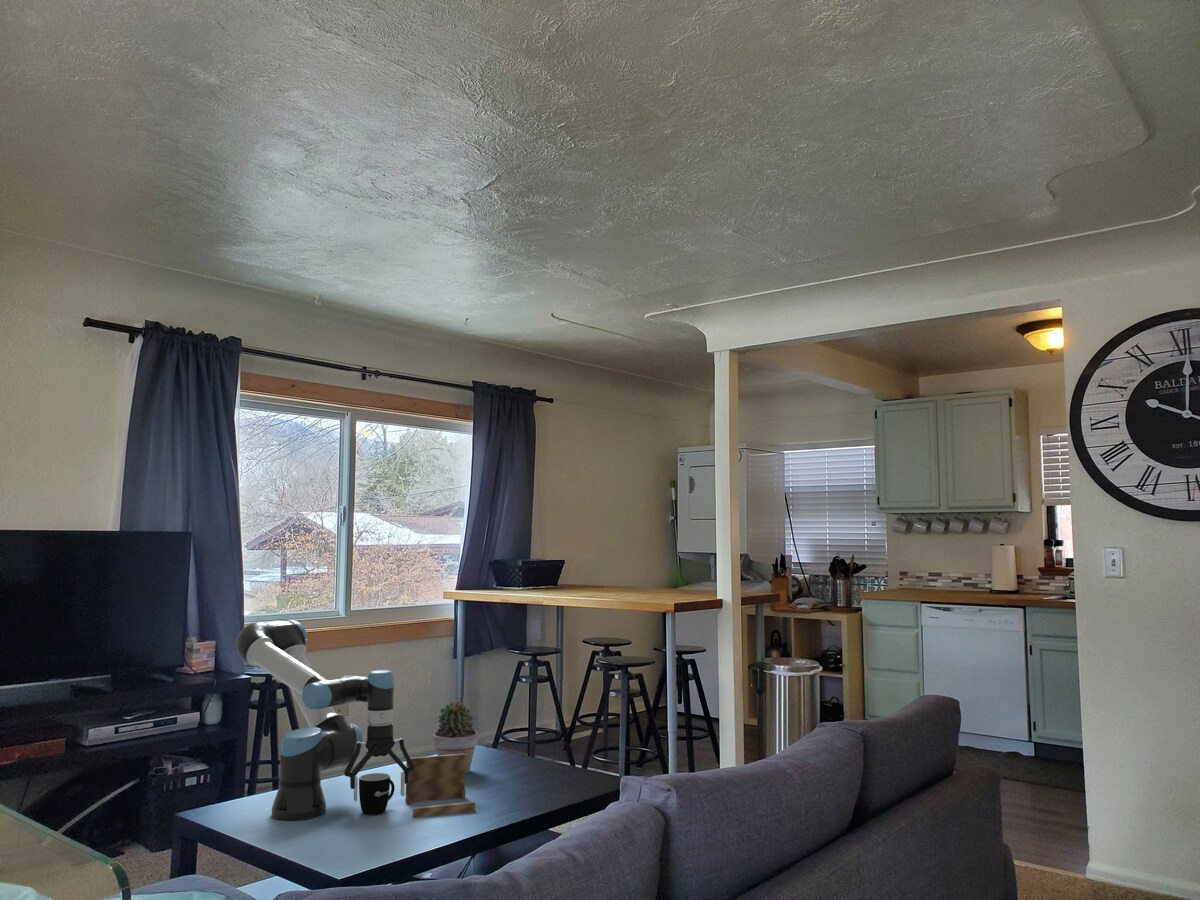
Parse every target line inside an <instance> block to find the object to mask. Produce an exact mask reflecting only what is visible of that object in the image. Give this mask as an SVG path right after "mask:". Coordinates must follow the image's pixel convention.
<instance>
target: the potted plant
mask: <svg viewBox="0 0 1200 900" xmlns="http://www.w3.org/2000/svg"><path fill="white" fill-rule="evenodd" d="M440 712H441V713H440V715H438V717H437V718H434V720H435V719H437V720H438V721H437V722H436V721H435V722H434V724H436V723H439V724H438V725H437V728H438V729H436V731H435V732H433V734H432V740H433V747H434V748H435V751H436V756H438V755H450V754H463V753H464V754H465V775H467V774H469V773H470V771H471V766H472V762H473V758H474V754H475V753H474V752H475V748H476V747H477V745H478V737H479V732H478V731H477V730H474V726H475V725H476V724H474V722H472V721H473V720H476V718H477V719H478V717H476V716H475V717H474V716H473V715H472V713H471V709H470V708H469V709H468V707H466V705H464V704H463V702H462V701H457V702H452V701H451V702H449V704H448V703H447V704H446V705H445V707H443V708H441V709H440ZM473 725H474V726H473Z"/></svg>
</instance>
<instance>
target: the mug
mask: <svg viewBox="0 0 1200 900" xmlns="http://www.w3.org/2000/svg"><path fill="white" fill-rule="evenodd" d="M390 788H391V790H390ZM358 792H359V793H358V795H359V804H360V805H359V806H360V810H361V813H362V814H363V815H364V816H378V815H382V814H383V813H385V812H386V810H387V807H388V802H389V801H390V800H391V799H392V797H393V795H394V793H395V783H394V781H393V780H392V779H391V775H390V774H388V773H382V772H374V773H373V772H372V773H367V774H363V775H360V776H359V778H358Z"/></svg>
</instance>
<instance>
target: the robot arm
mask: <svg viewBox="0 0 1200 900" xmlns="http://www.w3.org/2000/svg"><path fill="white" fill-rule="evenodd" d="M307 638H308V633H307V631H306V628H305V627H304V625H303V624H301V623H300V622H298V621H297V620H294V619H293V620H292V619H280V620H274V621H273V620H270V621H257V622H256V621H255V622H253V623H250V624H248V625H245V627H243V628H242V630H241V631H240V632H239V633H238V636H237V637H236V642H235V643H236V644H235V648H236V651H237V654H238V656H239V657H240V658H241V660H243V661H244V662H246V663H247V664H248V665H250V666H252V667H259V668H261V669H262V670H264V671H265V672H266V673H269V675H270V676H272V677H274V678H275V679H277V680H279V681H280V682H282V683H283V684H284V685H286V686H287V687H288V688H289V690H290V691H291V694H292V695H293V698H294V699H295V701H296V704H297V705H298V707H299V709H300V711H301V713H302V715H303V716H304V718H305V720H306V722H307V724H308V726H307V727H304V728H303V727H301V728H296V729H293V730H290V731H289V732H287V733H285V734H284V735H283V736H282V738H281V741H280V748H279V754H280V755H279V778H278V779H279V780H278V782H279V783H278V790H277V792H276V795H275V798H274V800H273V803H272V807H271V817H272V818H274V819H276V820H280V819H281V820H282V821H297V820H298V821H299V820H306V819H312V818H316V817H319V816H321V815H323V814H324V813H326V811H327V801H326V798H325V794H324V790H323V788H322V783H321V782H322V781H321V777H322V771H326V770H330V769H334V768H337V767H344V766H346V767H345V769H344V771H343V775H344V776H345V777H347V778H350V781H349V783H350V785H349V787H350V789H351V790H353V800H354V802H358V786H359V778H358V776H357V775H358V774H359V773H360V771H361V770H362V769H363V767H364V766H365V765H366V764H367V762H368V761H369V760H370V759H371V758H372V757H375V758H377V757H380V756H381V757H386V756H387V755H389V756H390V757H391V759H393V761H394V762H395V763H396V764H397V765H398V766H399V767H400V769H401V770H402V771H400V795H401V797H405V790H406V784H407V783H408V773H409V771H411V770H414V768H415V767H414V765H413V763H412V761H411V759H410V758H411V757H410V755H409V753H408V751H407V749H406V747H405V740H404V739H403V738H402V737H399V738H397V739H394V724H393V722H394V691H395V689H394V688H395V684H394V683H395V682H394V680H395V679H394V673H393V671H391V670H387V669H386V670H385V669H381V670H372V671H370V672H368V674H367V675H368V676H364V675H363V676H361V675H355V674H353V675H344V676H342V677H341V678H335V679H331V680H330V679H327V678H326V677H324V676H322V675H320V674H319V673H317V672H316V671H315V670H313V668H312V666H311V664H310V662H309V661H308V659H307V657H306V653H307V646H308V640H309V639H307ZM357 702H359V703H367V724H368V725H367V729H366V731H367V732H366V733H367V735H366V738H367V739H366V741H365V742H364V739H363V738H364V737H363V734H362V730H361V728H360V727H359V726H358V725H357V724H355V723H348V722H347V720H346V718H345V717H344V715H343V714H341V713H336V711H335V709H334V707H335V706H339V705H346V704H349V703H357ZM395 745H396V746H397V747H398V748H399V749H400V751H401V753H402V755H403V757H404V759H405V762H406V761H407V763H408V765H409V766H407V767H406V764H404V762H402V760H401V758H399V756H397V754H396V753H395V752H394V750H393V748H394V746H395ZM364 748H366V749H367V751H366V753H365V755H364V756H363V757H362V758H361V760H360V761H359V762H358V764H356V766H355V767H354V765H355V763H356V761H357V759H358V758H359V756H360V754H361V752H362V750H363V749H364ZM353 768H354V769H353Z"/></svg>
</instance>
